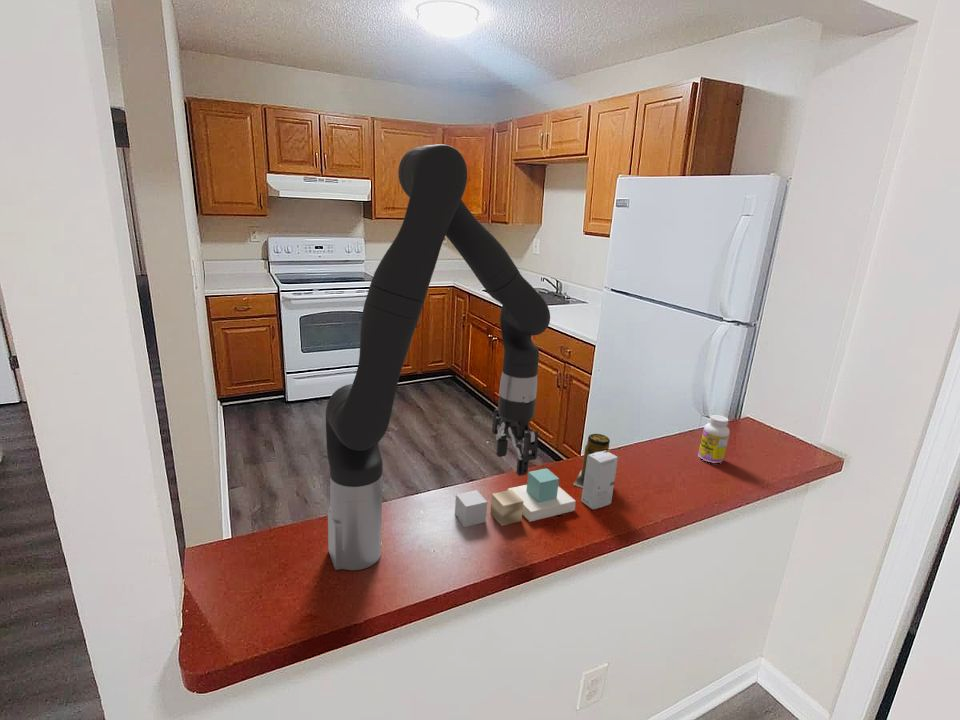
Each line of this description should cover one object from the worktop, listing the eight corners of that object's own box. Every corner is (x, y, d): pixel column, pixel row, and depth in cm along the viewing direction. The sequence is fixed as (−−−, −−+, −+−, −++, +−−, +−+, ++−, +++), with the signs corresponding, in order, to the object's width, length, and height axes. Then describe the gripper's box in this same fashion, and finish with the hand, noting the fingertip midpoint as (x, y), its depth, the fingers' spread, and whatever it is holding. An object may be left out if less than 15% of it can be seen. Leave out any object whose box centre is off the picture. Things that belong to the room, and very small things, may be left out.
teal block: (538, 502, 117) (540, 482, 116) (526, 491, 121) (528, 471, 120) (556, 498, 119) (559, 478, 118) (544, 487, 123) (546, 468, 122)
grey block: (464, 527, 111) (466, 506, 109) (454, 514, 115) (456, 494, 113) (485, 522, 113) (487, 501, 111) (475, 509, 117) (476, 490, 116)
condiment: (608, 478, 135) (615, 435, 131) (602, 493, 127) (609, 449, 124) (580, 471, 138) (586, 429, 134) (572, 485, 130) (579, 441, 127)
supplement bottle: (692, 454, 151) (701, 413, 148) (711, 453, 153) (720, 412, 150) (708, 466, 145) (718, 423, 142) (728, 464, 147) (737, 422, 144)
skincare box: (593, 510, 120) (600, 463, 116) (579, 501, 124) (586, 454, 120) (612, 503, 123) (619, 457, 120) (598, 494, 127) (605, 449, 123)
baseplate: (529, 521, 114) (530, 511, 113) (506, 498, 122) (507, 488, 122) (574, 510, 120) (575, 500, 119) (549, 488, 128) (550, 479, 127)
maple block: (501, 526, 112) (503, 505, 111) (490, 513, 116) (492, 493, 115) (521, 521, 114) (523, 501, 113) (509, 509, 118) (511, 489, 117)
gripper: (485, 383, 111) (480, 453, 116) (520, 408, 99) (513, 484, 104) (515, 380, 114) (509, 447, 119) (553, 404, 102) (544, 478, 107)
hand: (511, 464), depth 111 cm, fingers open, 8 cm apart
